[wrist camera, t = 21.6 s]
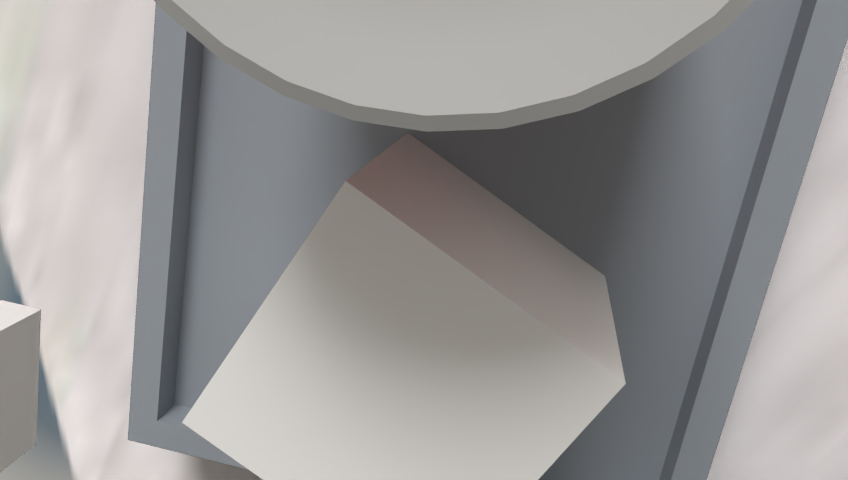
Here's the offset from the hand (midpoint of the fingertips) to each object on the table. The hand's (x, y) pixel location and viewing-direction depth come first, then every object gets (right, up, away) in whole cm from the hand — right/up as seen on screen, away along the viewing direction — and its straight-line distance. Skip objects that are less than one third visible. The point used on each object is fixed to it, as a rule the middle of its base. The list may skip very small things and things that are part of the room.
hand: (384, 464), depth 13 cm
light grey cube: (+1, +2, +7) cm, 7 cm away
